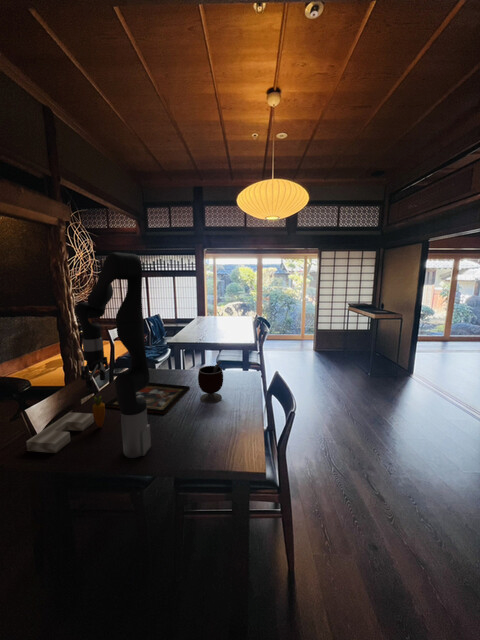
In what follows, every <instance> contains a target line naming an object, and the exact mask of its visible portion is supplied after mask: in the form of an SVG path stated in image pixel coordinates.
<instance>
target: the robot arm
mask: <svg viewBox="0 0 480 640" xmlns="http://www.w3.org/2000/svg"><path fill="white" fill-rule="evenodd" d="M104 259H105V260H104V261H103V264H102V266H101V270H100V271H99V275H98V278H97V280H96V283H95V286H94V287H93V289H92V290H91V292H90V293H89V294H88V296H87V301H80V302H78V303H77V304H76V305H75V309H74V310H75V311H74V312H75V315H76V317H77V319H78V321H79V324H80V327H81V331H82V348H83V349H82V350H83V351H82V352H83V360H84V361H86V365H80V366H81V367H80V377H81V381H85V383H86V384H85V385H86V388H87V389H92V388H94V387H93V386H94V385H93V377H94V375H96V372H97V371H98V374H99V381H104V382H105V380H106V371H107V370H108V369H109V364H108V357H107V356H105V352H104V351H105V350H104V339H103V332H102V325H101V324H99V323H94V322H93V323H92V322H90V319H99V318H101V317H103V316H104V315H105V312H106V308H107V304H109V302H110V300H111V299H112V298H113V295H114V288H113V286H112V283H113V282H114V281H115V280H118V281H119V280H120V281H121V280H122V281H123V280H124V281H125V280H126V282H127V283H126V285H127V287H126V293H125V296H124V299H123V301H122V302H121V304H120V306H119V308H118V311H117V312H116V315H115V329H116V334H117V337H118V340H119V341H120V343H122V345H123V346H124V348H125V349H126V350H127V352H128V353H129V357H130V365H131V366H130V368H128V369H126V370H123V371H121V372H119V373H117V375H116V376H115V381H114V382H115V392H116V393H115V394H116V397H117V400H118V405H119V407H120V409H119V410H120V421H121V423H120V424H121V437H122V450H123V455H124V457H126V458H129V459H130V458H131V459H135V458H139V457H144V456H145V455H146V454H147V453H148V451H149V450H150V449H151V447H152V441H151V438H152V437H151V425H150V423H149V424H148V412H147V405H146V400H145V399H143V398H139V397H136V392H138V391H140V390H142V389H144V388H145V387H147V386H148V384H149V382H150V379H151V378H150V371H149V364H148V359H147V353H146V343H145V323H144V313H143V302H142V301H143V296H142V295H143V292H142V291H143V265H142V261H141V258H140V256H139V255H137V254H135V253H130V252H129V253H127V252H126V253H124V252H115V251H114V252H110V253H109V254H108V255H107V256H106V257H105V258H104Z"/></svg>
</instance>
